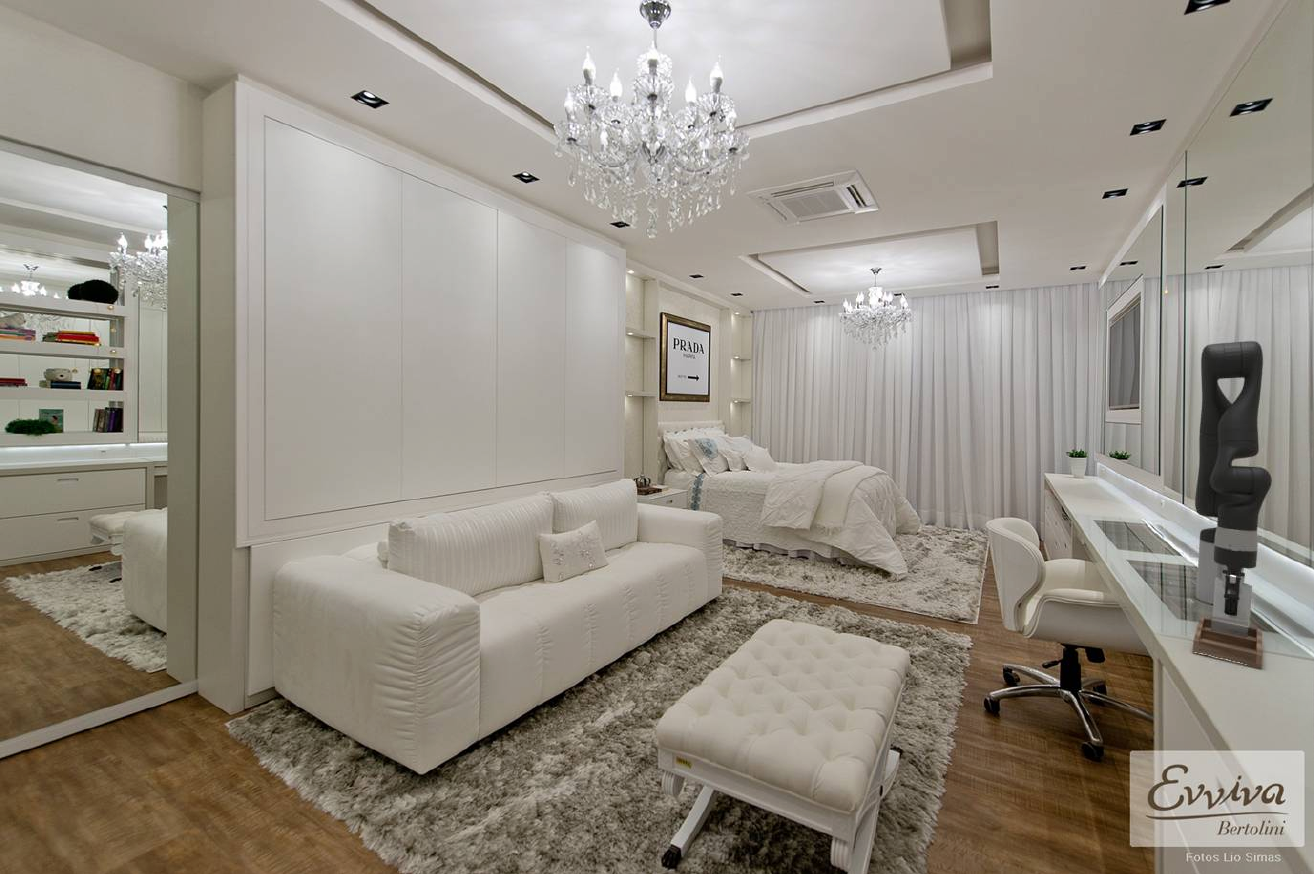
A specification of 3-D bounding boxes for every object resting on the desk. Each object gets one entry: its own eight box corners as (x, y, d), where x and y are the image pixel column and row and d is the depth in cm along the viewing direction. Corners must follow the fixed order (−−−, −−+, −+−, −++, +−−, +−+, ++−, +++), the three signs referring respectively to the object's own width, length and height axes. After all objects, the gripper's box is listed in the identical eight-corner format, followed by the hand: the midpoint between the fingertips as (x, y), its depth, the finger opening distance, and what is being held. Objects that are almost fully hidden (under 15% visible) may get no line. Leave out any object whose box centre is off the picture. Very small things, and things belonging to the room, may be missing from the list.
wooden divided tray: (1199, 628, 143) (1200, 609, 142) (1260, 641, 135) (1262, 621, 135) (1192, 653, 129) (1194, 631, 128) (1261, 669, 121) (1262, 646, 121)
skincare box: (1250, 633, 140) (1253, 585, 139) (1229, 632, 141) (1232, 584, 140) (1230, 624, 146) (1233, 578, 145) (1211, 623, 147) (1214, 577, 146)
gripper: (1215, 538, 150) (1211, 600, 151) (1212, 548, 140) (1208, 614, 141) (1257, 544, 144) (1252, 608, 145) (1257, 554, 134) (1252, 622, 135)
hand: (1231, 610), depth 143 cm, fingers closed on skincare box, 7 cm apart
